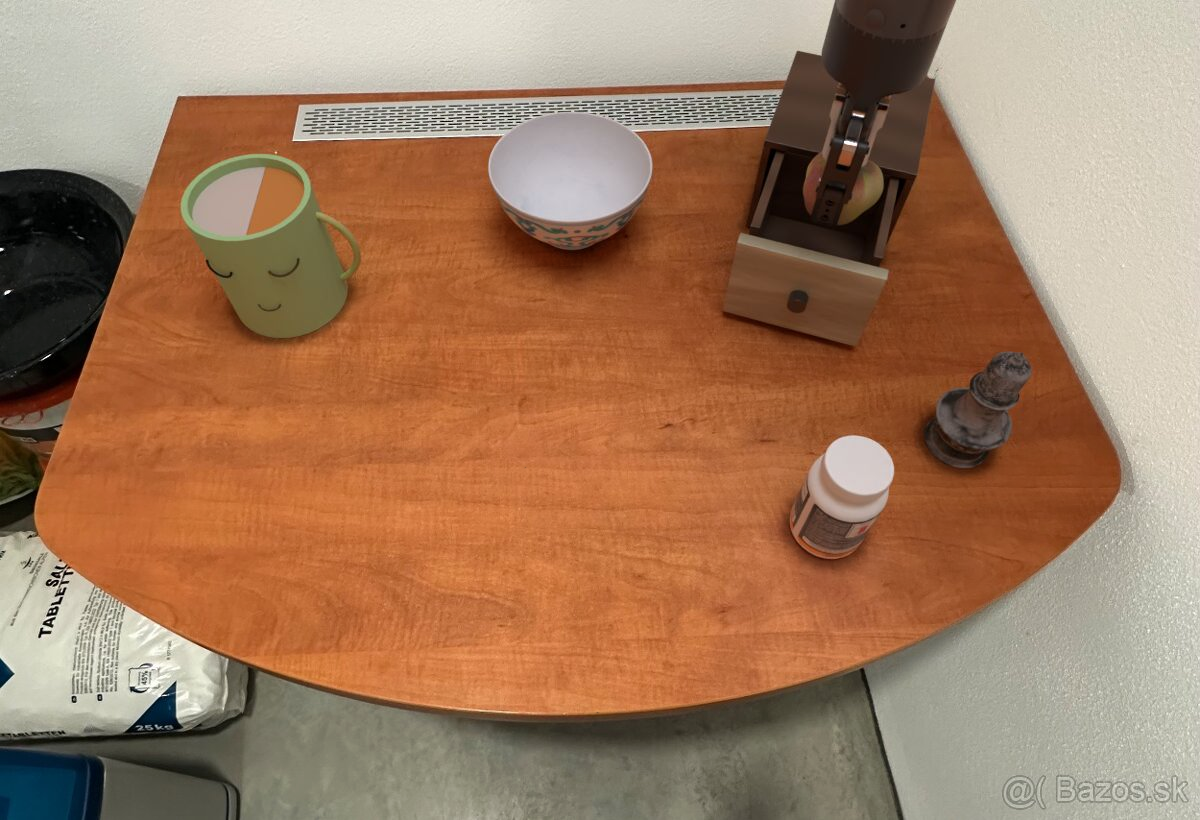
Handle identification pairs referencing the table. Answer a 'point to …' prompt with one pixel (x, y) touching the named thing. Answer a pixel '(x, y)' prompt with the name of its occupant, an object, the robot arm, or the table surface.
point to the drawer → (809, 260)
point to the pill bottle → (842, 497)
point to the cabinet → (808, 122)
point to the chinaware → (570, 177)
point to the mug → (269, 243)
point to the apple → (863, 191)
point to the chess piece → (978, 412)
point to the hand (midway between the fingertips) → (830, 196)
